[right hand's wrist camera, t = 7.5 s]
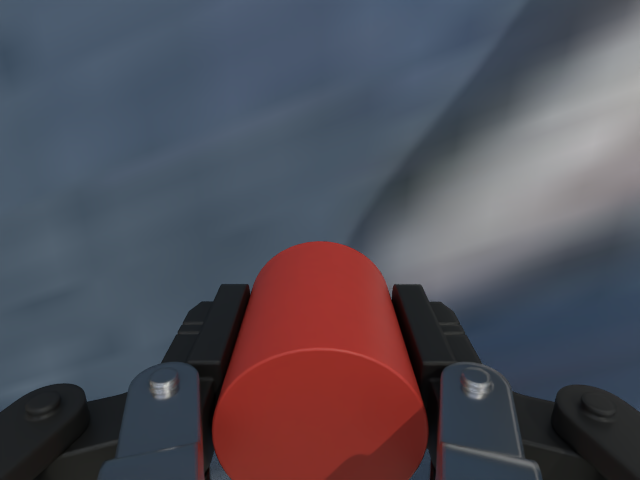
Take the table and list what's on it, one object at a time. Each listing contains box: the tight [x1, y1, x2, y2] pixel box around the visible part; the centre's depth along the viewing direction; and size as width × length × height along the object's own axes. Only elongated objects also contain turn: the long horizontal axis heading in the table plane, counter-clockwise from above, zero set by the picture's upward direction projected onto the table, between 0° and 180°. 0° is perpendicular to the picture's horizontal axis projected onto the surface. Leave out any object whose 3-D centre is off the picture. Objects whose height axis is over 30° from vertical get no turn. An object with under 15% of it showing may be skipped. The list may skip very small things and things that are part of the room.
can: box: [212, 241, 429, 480], centre depth 10 cm, size 4×4×5 cm
